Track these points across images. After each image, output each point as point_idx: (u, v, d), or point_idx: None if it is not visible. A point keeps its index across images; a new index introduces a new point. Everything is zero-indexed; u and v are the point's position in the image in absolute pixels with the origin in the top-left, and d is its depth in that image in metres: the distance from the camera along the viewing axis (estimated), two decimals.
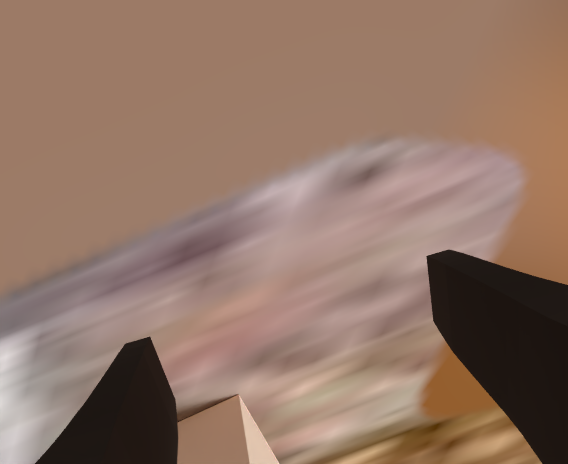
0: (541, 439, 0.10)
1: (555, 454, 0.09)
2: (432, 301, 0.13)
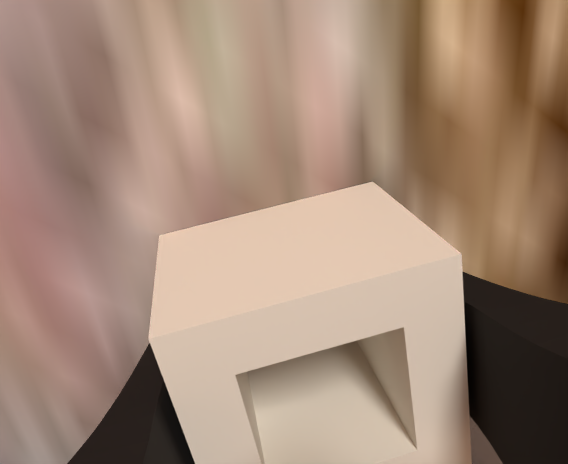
0: (508, 450, 0.10)
1: None
2: None
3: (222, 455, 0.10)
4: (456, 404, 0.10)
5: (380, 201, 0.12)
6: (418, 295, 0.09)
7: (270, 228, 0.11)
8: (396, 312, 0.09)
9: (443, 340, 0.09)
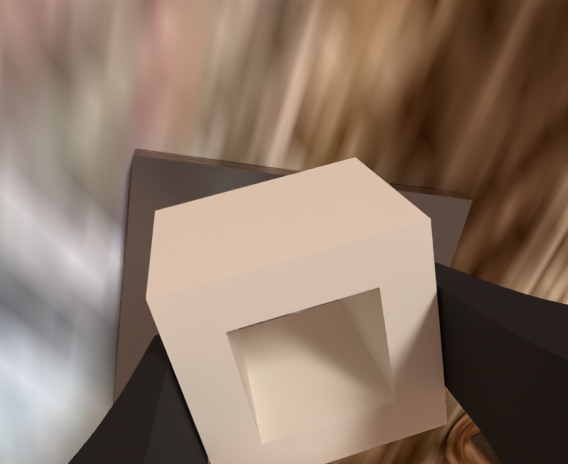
0: (507, 450, 0.10)
1: None
2: None
3: (216, 407, 0.10)
4: (431, 359, 0.11)
5: (361, 175, 0.12)
6: (392, 257, 0.10)
7: (258, 201, 0.12)
8: (372, 273, 0.10)
9: (416, 299, 0.10)
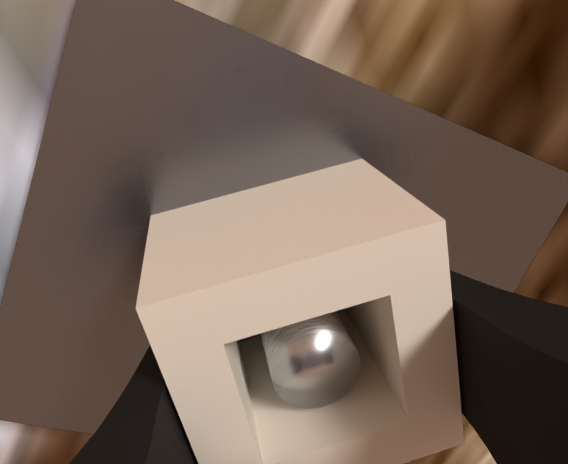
0: (502, 452, 0.10)
1: None
2: None
3: (213, 426, 0.10)
4: (446, 373, 0.10)
5: (368, 176, 0.12)
6: (403, 262, 0.09)
7: (259, 204, 0.11)
8: (381, 280, 0.09)
9: (430, 308, 0.10)
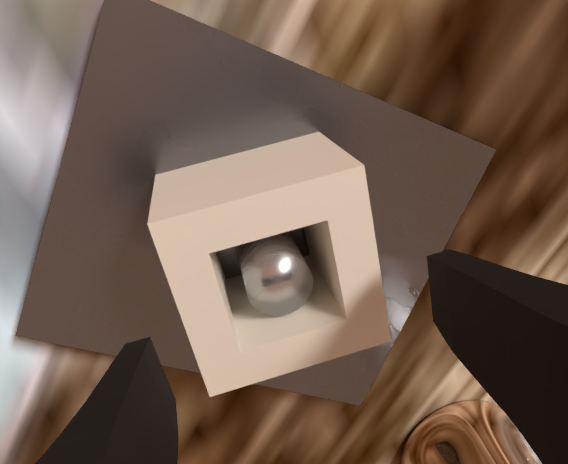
0: (541, 439, 0.10)
1: (555, 454, 0.09)
2: (432, 301, 0.13)
3: (202, 317, 0.13)
4: (373, 283, 0.14)
5: (320, 142, 0.15)
6: (336, 196, 0.13)
7: (237, 163, 0.15)
8: (320, 209, 0.13)
9: (357, 231, 0.13)
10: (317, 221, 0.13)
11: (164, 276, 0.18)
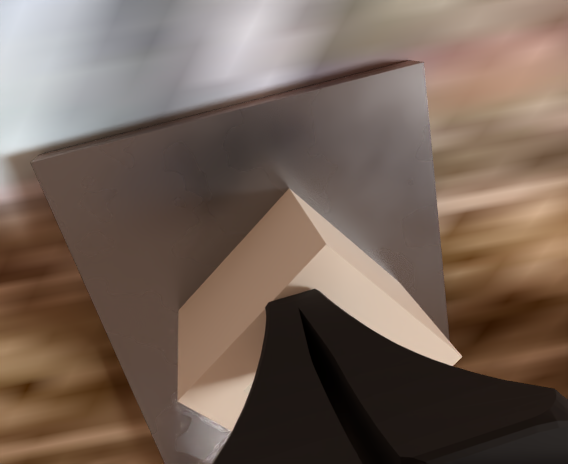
0: None
1: None
2: None
3: (260, 340, 0.13)
4: None
5: (409, 296, 0.17)
6: (428, 356, 0.14)
7: (356, 251, 0.16)
8: None
9: None
10: None
11: (196, 254, 0.16)
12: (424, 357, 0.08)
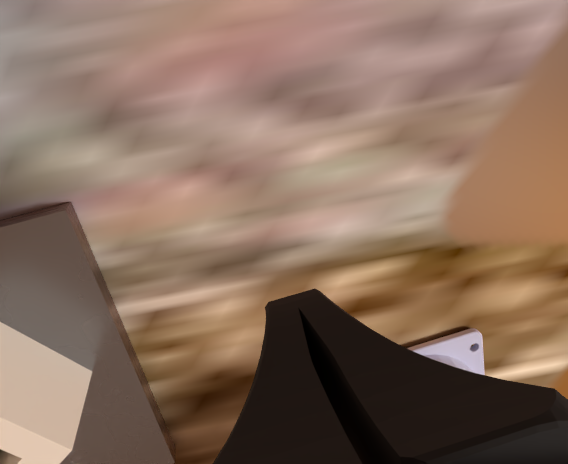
0: None
1: None
2: None
3: None
4: None
5: (80, 388, 0.21)
6: (40, 451, 0.18)
7: (22, 357, 0.20)
8: (24, 450, 0.18)
9: None
10: (15, 455, 0.18)
11: None
12: (424, 357, 0.08)
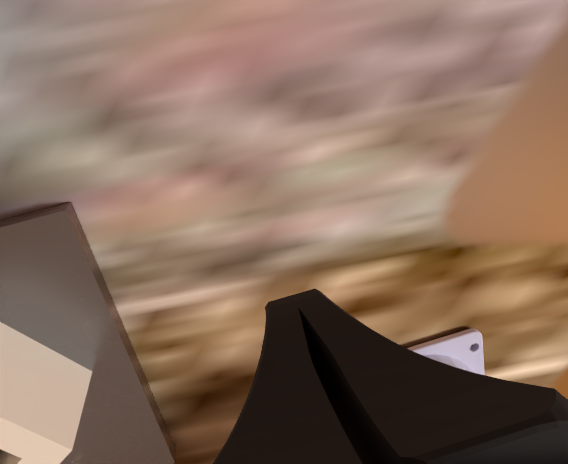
0: None
1: None
2: None
3: None
4: None
5: (80, 388, 0.21)
6: (40, 451, 0.18)
7: (22, 357, 0.20)
8: (24, 450, 0.18)
9: None
10: (15, 455, 0.18)
11: None
12: (424, 357, 0.08)
